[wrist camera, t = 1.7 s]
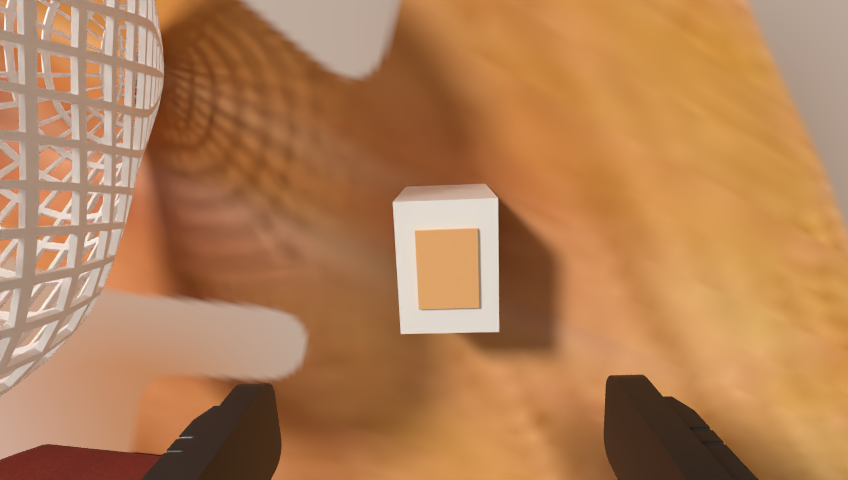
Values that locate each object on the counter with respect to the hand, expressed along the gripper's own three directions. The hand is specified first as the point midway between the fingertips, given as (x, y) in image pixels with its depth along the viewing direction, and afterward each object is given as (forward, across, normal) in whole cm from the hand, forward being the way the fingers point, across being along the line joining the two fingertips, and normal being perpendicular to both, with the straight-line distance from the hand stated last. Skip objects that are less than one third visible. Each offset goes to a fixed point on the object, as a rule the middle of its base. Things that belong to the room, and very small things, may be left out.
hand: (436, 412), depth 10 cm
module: (+18, 0, 0) cm, 18 cm away
